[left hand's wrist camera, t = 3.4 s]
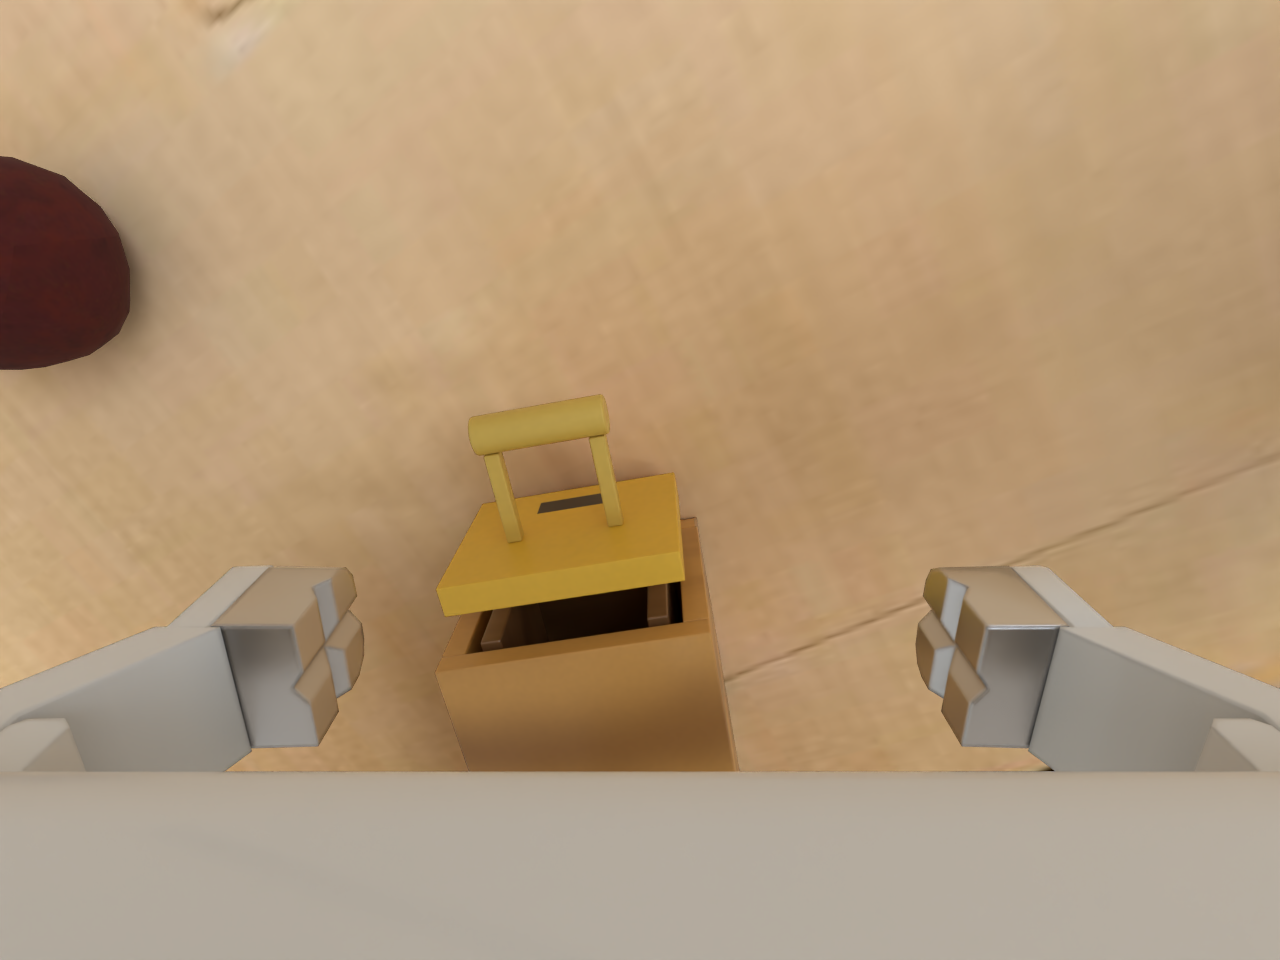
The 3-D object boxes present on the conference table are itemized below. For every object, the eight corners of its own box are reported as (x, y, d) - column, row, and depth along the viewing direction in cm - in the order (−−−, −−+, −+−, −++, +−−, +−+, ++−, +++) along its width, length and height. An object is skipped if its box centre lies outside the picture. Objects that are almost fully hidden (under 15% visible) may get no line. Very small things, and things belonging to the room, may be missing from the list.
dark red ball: (-35, 288, 30) (-227, 315, 23) (16, 116, 28) (-182, 93, 21) (134, 384, 31) (-1, 435, 25) (198, 229, 29) (66, 240, 22)
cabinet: (489, 549, 34) (433, 672, 26) (696, 516, 34) (711, 632, 25) (580, 859, 42) (560, 1037, 33) (750, 839, 41) (777, 1015, 32)
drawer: (450, 395, 31) (390, 455, 24) (653, 359, 30) (654, 409, 23) (573, 820, 39) (556, 956, 32) (732, 800, 39) (750, 934, 32)
